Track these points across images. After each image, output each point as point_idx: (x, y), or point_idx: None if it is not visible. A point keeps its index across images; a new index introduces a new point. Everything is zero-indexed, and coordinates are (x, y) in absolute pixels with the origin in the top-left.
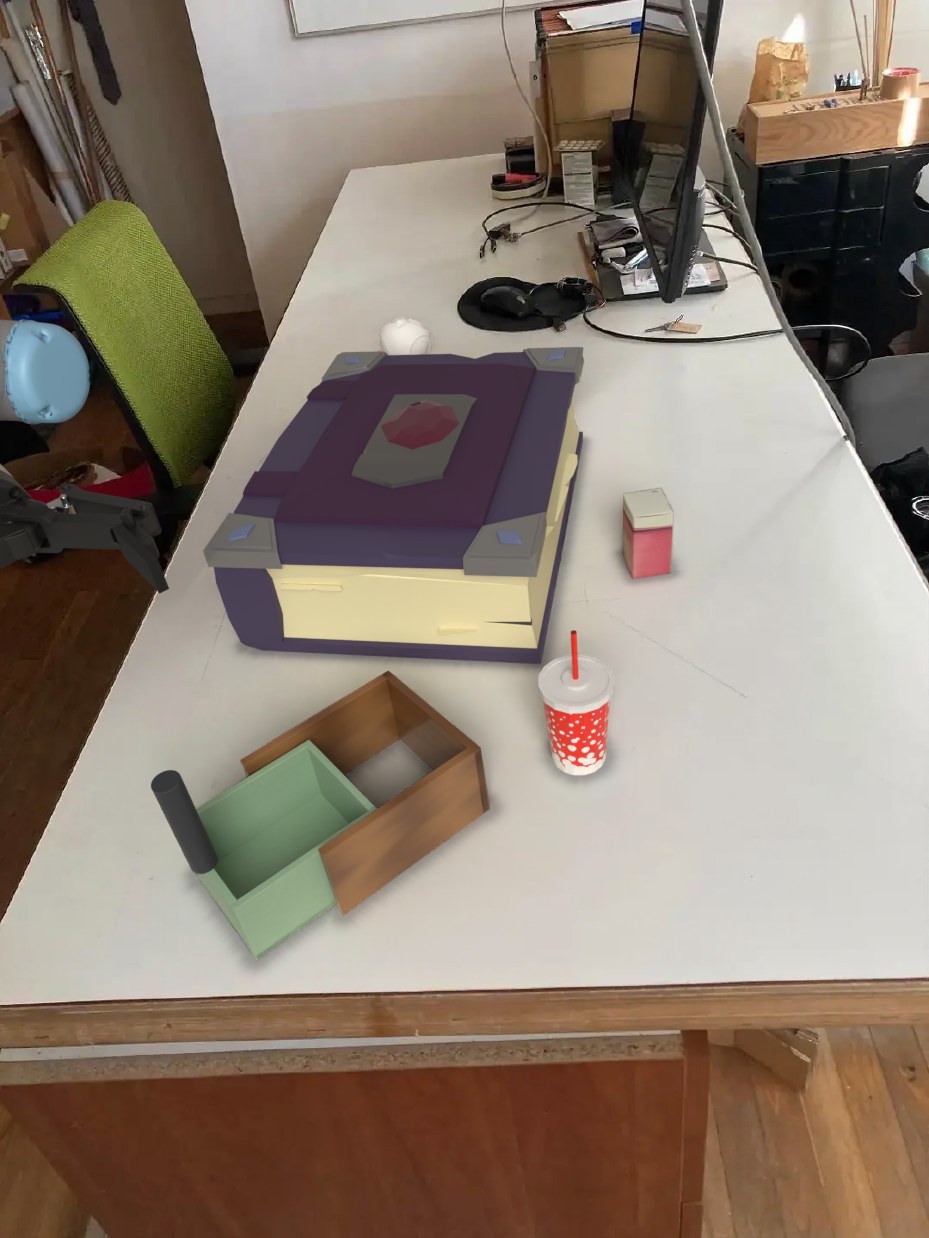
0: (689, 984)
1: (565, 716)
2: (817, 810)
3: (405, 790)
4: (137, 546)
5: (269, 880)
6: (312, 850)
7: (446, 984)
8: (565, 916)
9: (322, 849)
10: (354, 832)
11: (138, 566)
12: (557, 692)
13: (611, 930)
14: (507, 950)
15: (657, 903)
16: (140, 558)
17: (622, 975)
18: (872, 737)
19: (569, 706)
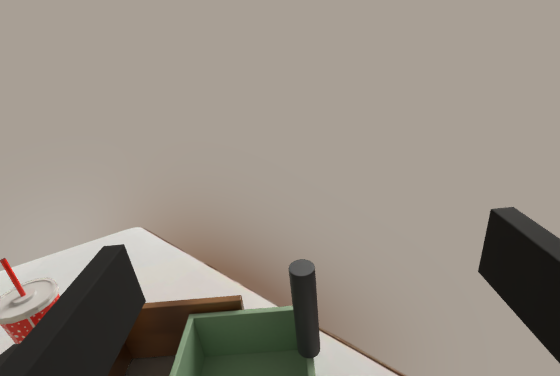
0: (178, 248)
1: (58, 297)
2: (69, 267)
3: (167, 305)
4: (71, 298)
5: (277, 309)
6: (242, 313)
7: (239, 287)
8: (176, 284)
9: (238, 298)
10: (215, 298)
11: (95, 360)
12: (41, 296)
13: (172, 271)
14: (208, 285)
15: (149, 270)
16: (106, 281)
17: (189, 259)
18: (9, 278)
19: (56, 283)
